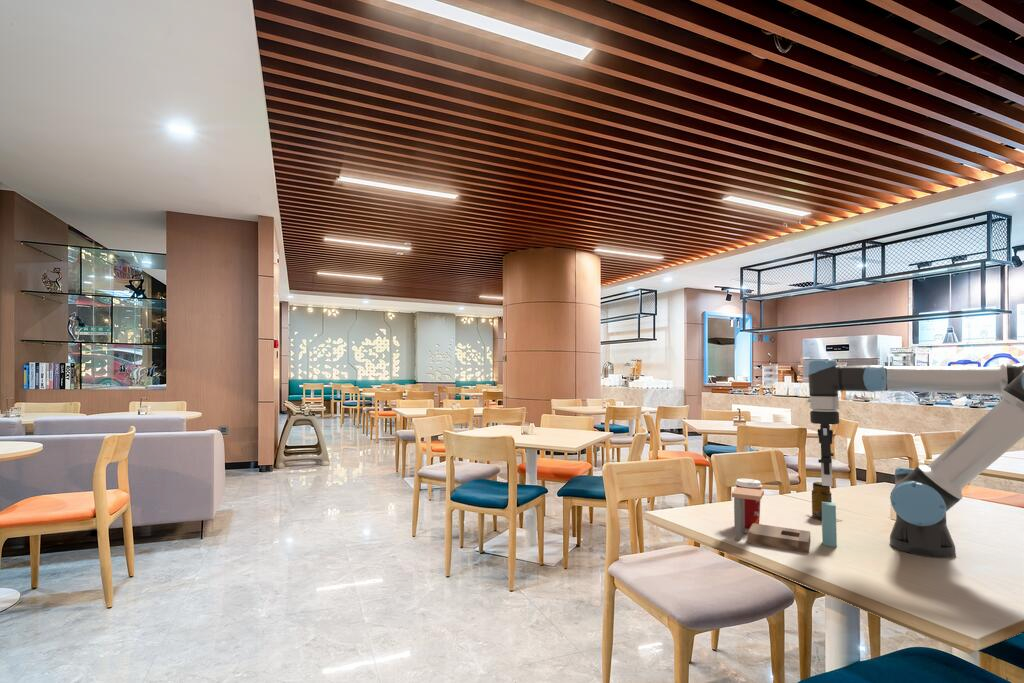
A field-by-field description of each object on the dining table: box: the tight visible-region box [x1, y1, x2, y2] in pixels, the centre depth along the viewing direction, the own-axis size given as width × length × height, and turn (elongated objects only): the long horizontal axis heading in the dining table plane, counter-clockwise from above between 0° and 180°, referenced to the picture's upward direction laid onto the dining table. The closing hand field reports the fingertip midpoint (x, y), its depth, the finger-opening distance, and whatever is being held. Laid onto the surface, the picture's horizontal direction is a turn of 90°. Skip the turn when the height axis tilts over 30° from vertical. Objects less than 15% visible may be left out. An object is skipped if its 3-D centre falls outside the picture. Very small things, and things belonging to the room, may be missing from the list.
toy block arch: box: [731, 487, 765, 541], centre depth 164 cm, size 8×10×14 cm
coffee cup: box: [734, 478, 763, 530], centre depth 176 cm, size 8×8×15 cm
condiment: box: [806, 481, 843, 522], centre depth 186 cm, size 7×8×12 cm
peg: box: [821, 502, 838, 548], centre depth 158 cm, size 4×4×12 cm
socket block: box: [747, 523, 811, 554], centre depth 159 cm, size 16×12×3 cm
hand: (827, 481), depth 158 cm, fingers open, 13 cm apart
